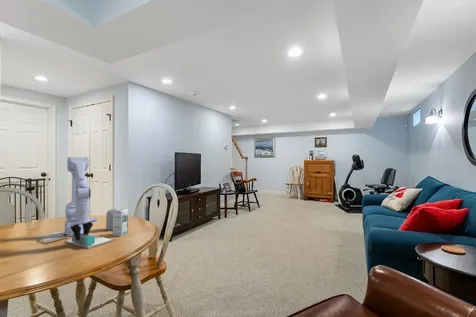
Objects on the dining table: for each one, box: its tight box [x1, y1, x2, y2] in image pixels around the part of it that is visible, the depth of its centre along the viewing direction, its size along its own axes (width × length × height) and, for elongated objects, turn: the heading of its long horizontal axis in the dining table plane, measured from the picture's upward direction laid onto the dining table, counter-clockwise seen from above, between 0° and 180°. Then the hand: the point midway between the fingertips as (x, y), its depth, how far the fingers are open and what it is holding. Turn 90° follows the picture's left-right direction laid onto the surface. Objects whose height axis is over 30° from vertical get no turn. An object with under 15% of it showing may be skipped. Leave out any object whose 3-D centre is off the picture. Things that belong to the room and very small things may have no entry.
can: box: [105, 208, 117, 232], centre depth 153 cm, size 8×8×12 cm
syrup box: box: [112, 208, 129, 237], centre depth 143 cm, size 6×6×14 cm
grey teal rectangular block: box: [71, 233, 95, 246], centre depth 124 cm, size 12×4×4 cm, turn 64°
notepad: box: [64, 234, 115, 250], centre depth 129 cm, size 19×14×1 cm
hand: (81, 238), depth 125 cm, fingers closed on grey teal rectangular block, 3 cm apart
